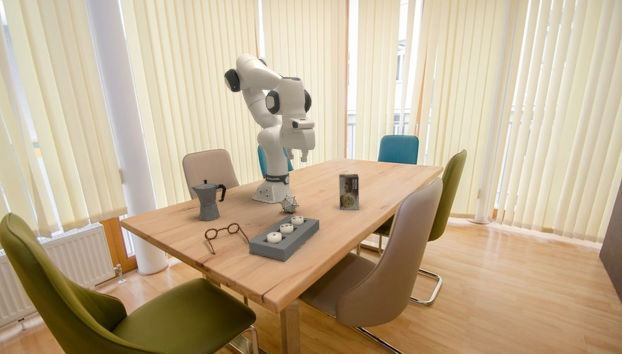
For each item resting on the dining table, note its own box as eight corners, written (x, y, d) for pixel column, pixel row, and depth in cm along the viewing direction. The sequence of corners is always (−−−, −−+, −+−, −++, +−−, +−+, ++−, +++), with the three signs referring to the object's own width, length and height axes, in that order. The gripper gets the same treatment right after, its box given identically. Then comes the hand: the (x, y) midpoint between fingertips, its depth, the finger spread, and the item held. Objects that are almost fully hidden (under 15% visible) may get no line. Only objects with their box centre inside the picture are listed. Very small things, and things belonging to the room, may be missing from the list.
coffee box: (357, 205, 133) (358, 173, 129) (358, 210, 127) (359, 176, 123) (339, 205, 134) (339, 173, 130) (339, 210, 128) (339, 177, 124)
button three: (278, 236, 98) (277, 227, 97) (285, 231, 102) (284, 222, 101) (289, 238, 96) (288, 229, 95) (296, 233, 100) (295, 224, 99)
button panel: (249, 252, 91) (248, 241, 90) (289, 223, 114) (288, 215, 113) (284, 261, 85) (284, 249, 84) (319, 229, 108) (319, 219, 107)
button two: (289, 227, 105) (288, 219, 104) (295, 223, 109) (295, 214, 108) (300, 229, 103) (299, 221, 102) (305, 225, 107) (305, 216, 106)
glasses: (239, 232, 108) (238, 221, 107) (250, 245, 97) (249, 232, 96) (205, 241, 101) (203, 229, 100) (213, 256, 90) (211, 242, 89)
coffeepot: (191, 222, 119) (185, 183, 115) (199, 214, 128) (194, 177, 124) (226, 220, 120) (222, 181, 115) (231, 213, 129) (227, 176, 125)
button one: (265, 246, 91) (264, 236, 90) (273, 240, 95) (272, 230, 94) (276, 249, 89) (276, 238, 88) (284, 242, 93) (284, 232, 92)
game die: (289, 221, 126) (279, 209, 119) (282, 210, 132) (273, 198, 126) (304, 210, 127) (296, 197, 120) (297, 199, 133) (289, 187, 126)
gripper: (273, 124, 105) (277, 159, 108) (301, 123, 88) (304, 164, 91) (288, 123, 108) (290, 157, 111) (317, 122, 92) (319, 162, 95)
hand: (297, 160), depth 101 cm, fingers open, 8 cm apart
